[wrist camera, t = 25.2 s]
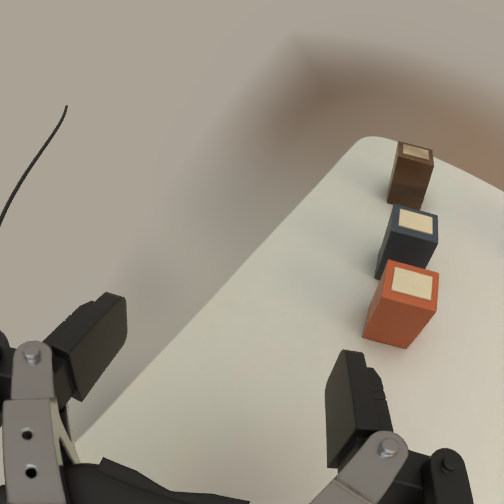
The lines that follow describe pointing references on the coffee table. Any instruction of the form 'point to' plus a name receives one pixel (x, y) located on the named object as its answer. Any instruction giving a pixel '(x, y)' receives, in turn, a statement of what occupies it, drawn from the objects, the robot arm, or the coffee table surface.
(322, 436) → the coffee table surface
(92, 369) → the robot arm
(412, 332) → the orange box with label
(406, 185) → the brown post
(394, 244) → the navy labelled block
